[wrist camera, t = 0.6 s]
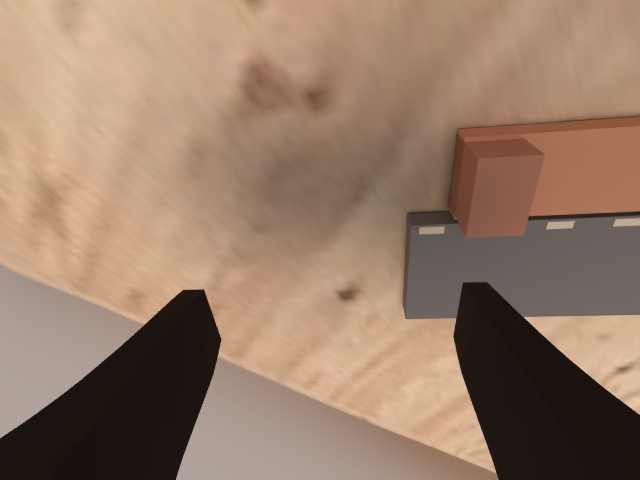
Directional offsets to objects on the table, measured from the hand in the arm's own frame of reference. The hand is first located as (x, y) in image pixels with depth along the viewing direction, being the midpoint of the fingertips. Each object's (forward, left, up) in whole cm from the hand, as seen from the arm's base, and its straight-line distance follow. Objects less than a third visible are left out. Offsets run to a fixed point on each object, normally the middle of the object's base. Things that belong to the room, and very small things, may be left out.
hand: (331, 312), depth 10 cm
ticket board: (-11, +6, -9) cm, 15 cm away
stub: (-11, 0, -9) cm, 14 cm away
